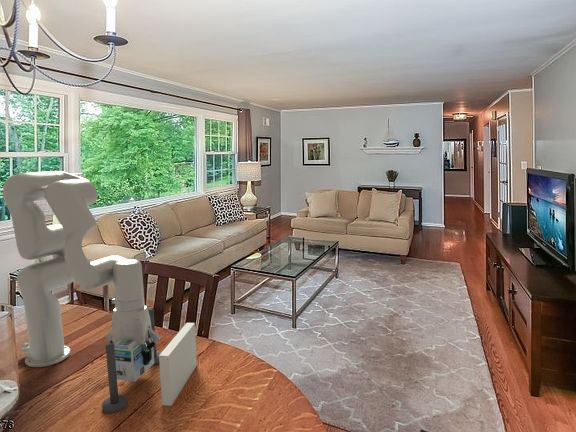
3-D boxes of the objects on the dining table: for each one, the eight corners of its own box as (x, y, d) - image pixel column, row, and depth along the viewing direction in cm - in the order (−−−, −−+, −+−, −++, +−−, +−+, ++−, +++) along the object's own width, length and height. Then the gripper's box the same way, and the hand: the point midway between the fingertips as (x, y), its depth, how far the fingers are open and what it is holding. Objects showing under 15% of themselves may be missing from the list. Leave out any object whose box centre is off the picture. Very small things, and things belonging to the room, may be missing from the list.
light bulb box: (135, 382, 109) (132, 345, 107) (113, 380, 110) (110, 343, 108) (155, 362, 119) (153, 328, 118) (135, 360, 121) (132, 327, 119)
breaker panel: (157, 404, 104) (154, 355, 102) (185, 364, 124) (183, 322, 122) (171, 405, 104) (168, 356, 102) (196, 365, 123) (194, 322, 121)
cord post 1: (97, 412, 101) (91, 349, 99) (110, 398, 107) (105, 338, 104) (119, 414, 101) (114, 351, 98) (131, 399, 107) (126, 339, 104)
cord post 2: (140, 365, 124) (136, 312, 121) (148, 355, 130) (145, 305, 127) (158, 366, 123) (155, 313, 121) (166, 356, 129) (163, 306, 126)
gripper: (93, 307, 109) (98, 367, 112) (153, 309, 107) (158, 370, 110) (108, 297, 116) (113, 354, 119) (165, 299, 114) (169, 357, 117)
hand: (134, 361), depth 114 cm, fingers closed on light bulb box, 7 cm apart
